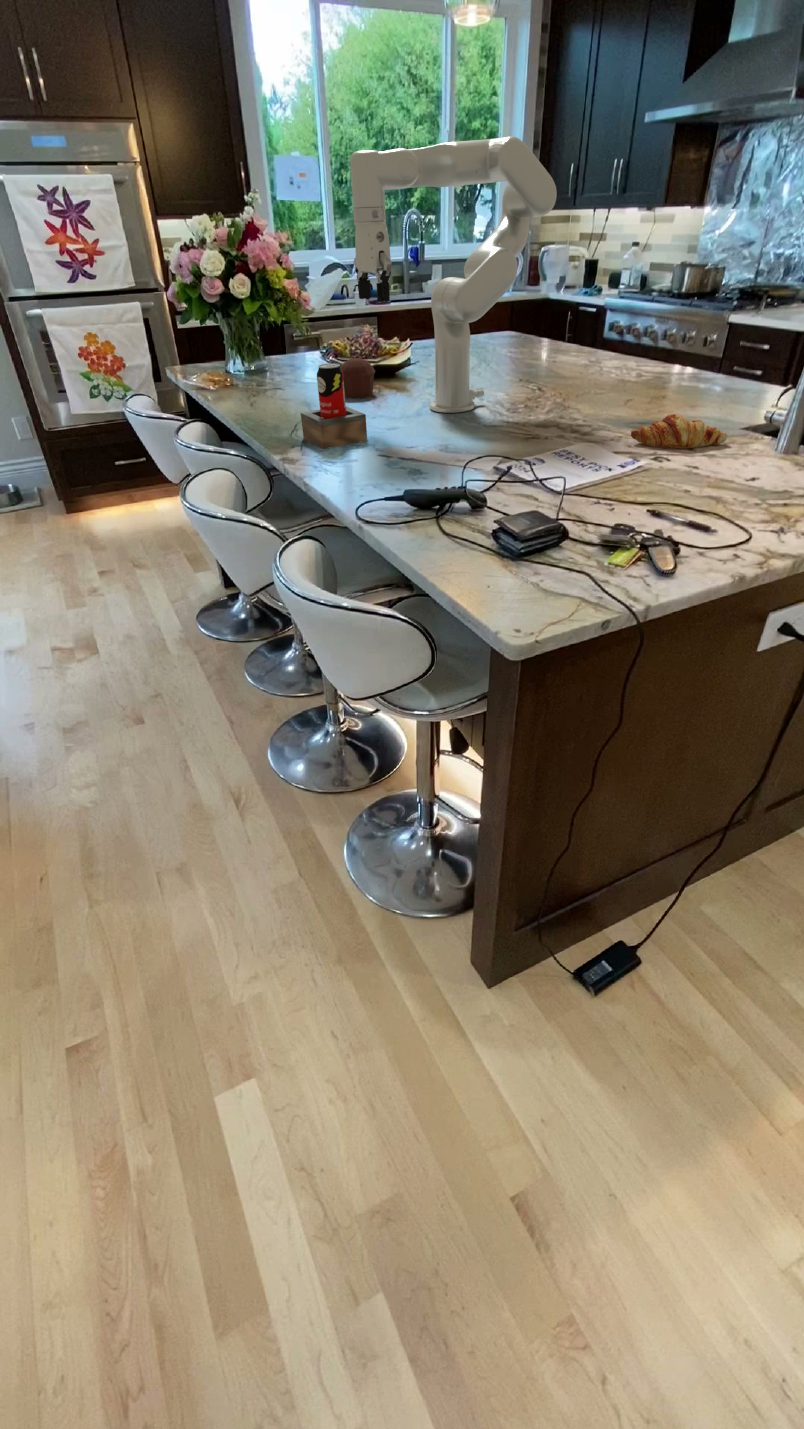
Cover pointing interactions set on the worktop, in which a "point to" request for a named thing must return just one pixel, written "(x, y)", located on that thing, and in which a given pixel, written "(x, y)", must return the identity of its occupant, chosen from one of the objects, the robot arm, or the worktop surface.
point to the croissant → (678, 433)
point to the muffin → (358, 378)
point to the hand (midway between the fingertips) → (374, 300)
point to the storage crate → (334, 428)
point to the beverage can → (331, 390)
